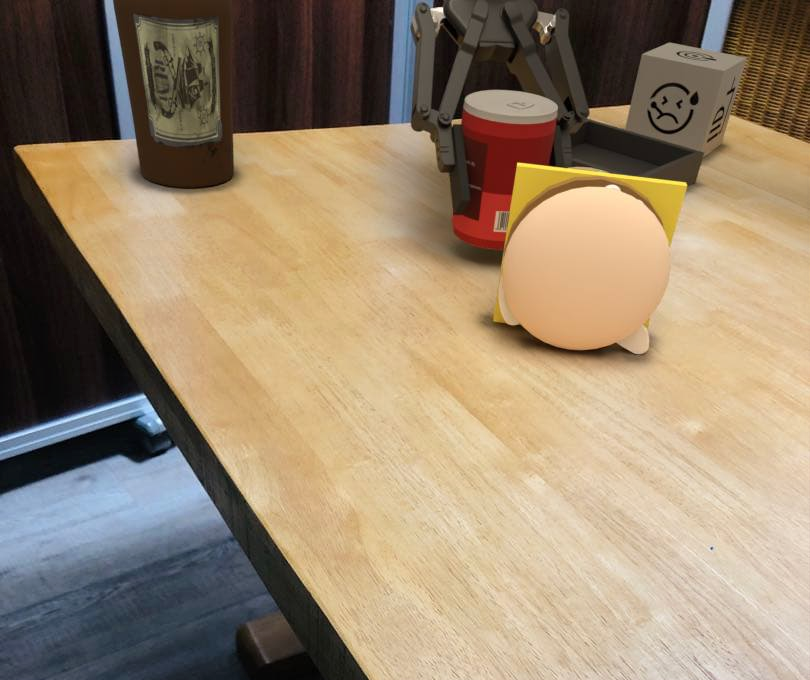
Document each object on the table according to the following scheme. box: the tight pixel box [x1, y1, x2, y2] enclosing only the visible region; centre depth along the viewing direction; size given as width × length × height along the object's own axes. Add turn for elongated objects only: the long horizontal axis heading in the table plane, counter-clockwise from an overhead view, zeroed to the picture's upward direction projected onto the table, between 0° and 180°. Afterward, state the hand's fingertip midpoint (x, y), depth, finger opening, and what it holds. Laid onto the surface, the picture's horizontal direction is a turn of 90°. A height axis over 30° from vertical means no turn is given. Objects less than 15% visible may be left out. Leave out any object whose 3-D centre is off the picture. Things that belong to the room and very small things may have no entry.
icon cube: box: [624, 42, 748, 158], centre depth 108 cm, size 10×10×10 cm
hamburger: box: [492, 163, 688, 355], centre depth 64 cm, size 12×8×12 cm
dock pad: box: [570, 118, 704, 187], centre depth 97 cm, size 16×16×3 cm
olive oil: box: [112, 0, 235, 189], centre depth 81 cm, size 11×11×25 cm
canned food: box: [451, 89, 558, 251], centre depth 74 cm, size 8×8×11 cm
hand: (510, 207), depth 73 cm, fingers closed on canned food, 8 cm apart
